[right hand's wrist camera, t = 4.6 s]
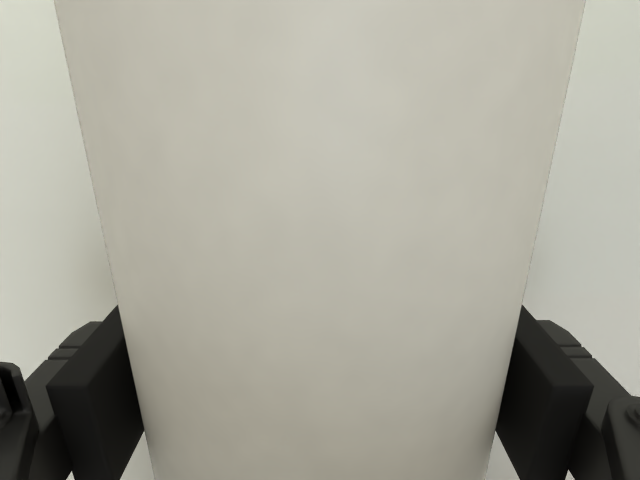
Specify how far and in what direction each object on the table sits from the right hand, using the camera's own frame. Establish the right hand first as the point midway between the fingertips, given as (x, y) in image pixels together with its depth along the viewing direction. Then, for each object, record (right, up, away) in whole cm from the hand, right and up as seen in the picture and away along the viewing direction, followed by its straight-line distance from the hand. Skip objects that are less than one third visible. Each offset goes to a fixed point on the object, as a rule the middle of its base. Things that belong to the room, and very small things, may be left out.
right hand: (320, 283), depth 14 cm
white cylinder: (0, +9, -3) cm, 10 cm away
